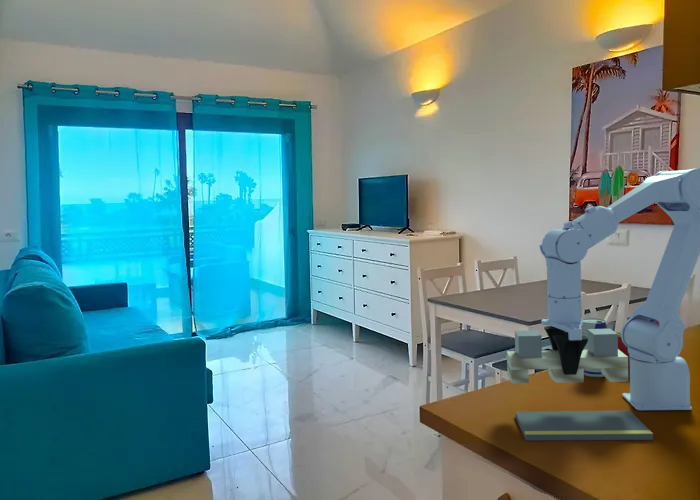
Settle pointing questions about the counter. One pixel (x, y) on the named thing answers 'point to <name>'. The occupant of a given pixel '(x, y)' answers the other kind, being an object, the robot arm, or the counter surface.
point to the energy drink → (587, 324)
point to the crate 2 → (602, 342)
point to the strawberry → (623, 348)
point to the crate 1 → (528, 344)
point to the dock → (582, 425)
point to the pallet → (518, 367)
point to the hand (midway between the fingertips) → (566, 369)
